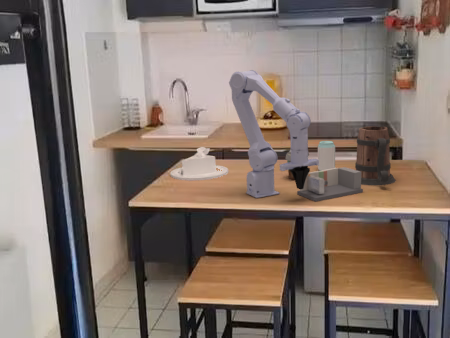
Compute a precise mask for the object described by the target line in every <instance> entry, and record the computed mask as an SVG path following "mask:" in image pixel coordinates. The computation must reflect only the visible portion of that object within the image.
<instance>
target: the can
mask: <svg viewBox="0 0 450 338" xmlns="http://www.w3.org/2000/svg"><path fill="white" fill-rule="evenodd" d="M317 159H318V160H319V165H317V169H318V171H321V170H327V169H333V168H336V145H335V143H334V141H332V140H321V141H319V143H318V146H317Z"/></svg>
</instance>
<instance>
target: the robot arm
mask: <svg viewBox="0 0 450 338" xmlns="http://www.w3.org/2000/svg"><path fill="white" fill-rule="evenodd" d="M228 84H229V87H230V89H231V100H232V104H233V106H234V108H235V111H236V113H237V116H238V119H239V121H240V124H241V126H242V128H243V131H244V134H245V136H246V138H247V141H248V144H249V148H248V150H247V155H248V163H249V166H250V167H251V169H252V170H251V171H248V172H247V174H246V192H245V194H247V195H250V196H251V197H253V198H255V199H259V198H265V197H271V196H274V195H280V192H279V191H276V190H275V165H276V164H277V163H278V154H277V151H275V150H274V149H273V148H272V144H270V142H268V141H266V140H265V137H264V135H263V132H262V129H261V128H260V125H259V123H258V120H257V117H256V115H255V113H254V109H253V107H252V105H251V103H250V97H251V96H252V94H253V92H257V93H258V94H259V95H260V96H261V97H263V98H264V99H265V100H266V101H267V102H269V103H270V104H271V105H272V109H273V112H275V113H276V114H277V115H278V116H279V117H280V118H281V119H282V120H283V121H284V122H286V124H285V125H286V128H287V129H288V131H289V136H290V137H289V138H290V150H291V162H288V163H287V162H285V163H281V164H279V171H281V172H285V171H288V170H289V169H290V172H291V173H292V175H293V177H294V180H293V181H294V182H295V186H296V189H298V190H300V189H303V188H304V183H305V180H306V177H307V175H308V173H309V172H310V171H311V168H310V167H313V166H318V165H319V160H318V158H311V159H310V158H309V156H308V152H309V143H308V142H309V140H308V139H309V133H308V132H309V131H308V130H309V129H308V128H309V127H310V126H311V121H312V120H311V117H310V115H309V114H308V113H307V112H306V111H301V109H300V108H298V107H296V106H295V105H294V104H293V103H292V102H291V99H290V98H287V97H280V96H279V95H278V93H276V91H275V90H273V89H272V88H271V86H269V85H268V84H267V82H266V81H265V80H264V79H263V76H262V75H261V74H259V73H258V71H256V70H253V69H251V70H245V71H235V72H233V73H232V74H231V77H230V79H229V82H228Z"/></svg>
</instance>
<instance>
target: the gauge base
mask: <svg viewBox="0 0 450 338" xmlns="http://www.w3.org/2000/svg"><path fill="white" fill-rule="evenodd" d="M309 174H310V175H313V176H316V177H319V178H322V179H324V181H325V180H327V182H328V184H327V185H324V194H317V193H315V192H312V191H309V190H308V185H307V177H306V180H305V183H304V188H303V189H299V190H297V191H296V194H297V195H298V196H300V197H303V198H306V199H308V200H311V201H313V202H322V201H326V200H331V199H336V198H341V197H345V196H349V195H350V196H351V195H355V194H356V195H357V194H361V193H364V188H362V185H361V172H360V171H357V170H356V169H352V168H350V167H346V166H345V167H344V166H343V167H335V168H333V169H327V170H321V171H320V170H316V171H311V172H309V173H308V175H307V176H309Z"/></svg>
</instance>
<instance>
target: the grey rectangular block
mask: <svg viewBox="0 0 450 338" xmlns="http://www.w3.org/2000/svg"><path fill="white" fill-rule="evenodd" d="M327 184H328V182H327V180H325V181H324V179H322V178H319V177H316V176H313V175H310V174H309V176H307V185H308V190H309V191H312V192H315V193H317V194H324V185H327Z"/></svg>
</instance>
